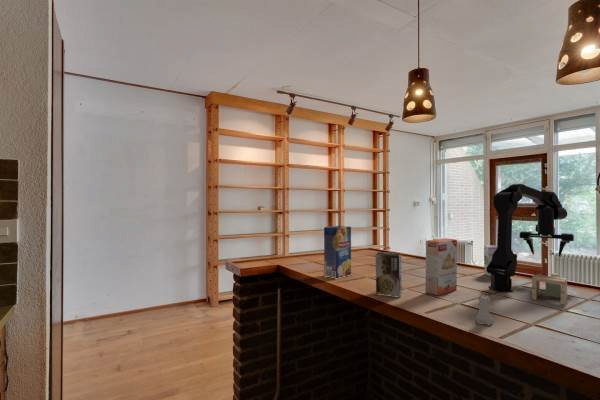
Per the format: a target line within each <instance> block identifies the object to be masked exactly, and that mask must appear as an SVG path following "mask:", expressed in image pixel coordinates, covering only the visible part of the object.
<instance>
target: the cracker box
mask: <svg viewBox="0 0 600 400" xmlns="http://www.w3.org/2000/svg"><path fill="white" fill-rule="evenodd" d="M457 263H458V240H457V239H455V238H439V239H438V238H436V239H429V240H426V241H425V293H427V294H430V295H433V294H434V296H442V295H444V294H447V293H451V292H455V291H457V289H458V288H457V286H458V285H457V282H458V281H457V279H458V278H457V272H458V271H457V269H458V268H457V267H458V266H457V265H458V264H457Z"/></svg>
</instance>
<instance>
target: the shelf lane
mask: <svg viewBox="0 0 600 400" xmlns="http://www.w3.org/2000/svg"><path fill="white" fill-rule="evenodd" d="M541 282H544V283H546V282H550V283H557V284H561V298H560V305H566V304H567V301H568V280H567V278H566V277H560V276H559V277H551V275H542V274H534V275H532V277H531V285H532V286H531V297H532V298H531V299H532V300H536V301H537V300H538V298H539V296H540V293H541V291H540V290H541V289H540V287H541V286H540V285H541V284H540V283H541Z"/></svg>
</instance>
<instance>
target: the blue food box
mask: <svg viewBox="0 0 600 400" xmlns="http://www.w3.org/2000/svg"><path fill="white" fill-rule="evenodd" d="M323 228H324V229H323V250H324V251H323V253H324V255H323V262H324V263H323V266H324V268H323V269H324V271H323V275H325V276H329V277H334V278H339V277H343V276H347V275H350V274H351V275H352V226H347V225H346V226H344V225H334V226H324V227H323ZM351 275H350V276H351ZM347 277H348V276H347Z"/></svg>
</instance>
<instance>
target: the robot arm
mask: <svg viewBox="0 0 600 400" xmlns="http://www.w3.org/2000/svg"><path fill="white" fill-rule="evenodd" d="M523 198H528V199H530V200H531V201H532V202H533V203H534V204H536V205H537V206H536V207H534V210H535V211H537V224H535V233H533V232H532V231H526V230H525V231H524V230H522V231H520V232H519V239H522V240H523V241H525V242H526V243H527V245H528V247H529V250H530V252H531V254H532V255H535V247H534V243H533V242H534V239H533V238H537V239H539V238H543V239H555V240H556V239H557V240H560V242H559V248H558V257H559V258H561V255H562V254H563V253H562V252H563V250H564V247H566V245H567V244H569V243H570V242H575V234H574V233H569V232H567V233H566V232H565V233H563V232H562V233H560V234H556V227H555V220H556V221H557V220H559V221H560V220H564V219H566V218H567V217H568V211H567V209H566V208H565V207H563V204H562V203H561V201H560V199H559V198H558V195H557V194H556V192H554V191H549V190H547V191H545V190H539V189H537V188H536V189H535V188H533V187H530V186H528V185H525V184H524V183H513V184H511V185H509V186H508V187H506V188H504V189H502V190H500V191H498V192H496V194H495V195H493V199H492V200H493V208H494V210H495V211H496V213H497V237H496V238H497V239H496V240H497V243H496V244H497V245H496V246H497V249H496V250H495V252H494V253H493V255H492V260H491V262H490V263H489V265H488V266H487V268H486V270H487V273H491V277H490V285H488V288H489V289H492V290H494V291H496V292H514V289H512V288H513V287H512V286H513V285H512V284H513V283H512V280H513V279H512V278H511V277H514V276H515V273H516V270H517V264H518V255H517V253H514V251H513V249H512V241H513V240H512V237H513V214H514V213H515V212H516V210H517V208H518V206H519V205H518V203H519V202H520V201H521V200H522V199H523ZM497 269H499V270H497Z"/></svg>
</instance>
